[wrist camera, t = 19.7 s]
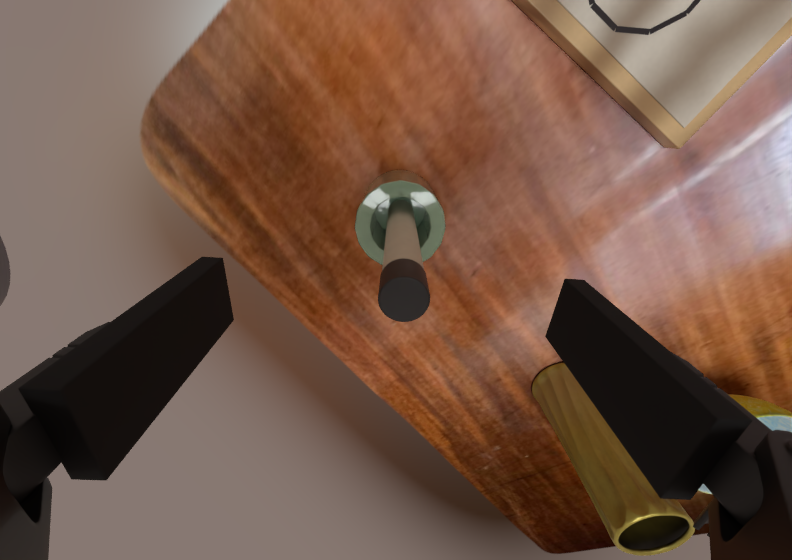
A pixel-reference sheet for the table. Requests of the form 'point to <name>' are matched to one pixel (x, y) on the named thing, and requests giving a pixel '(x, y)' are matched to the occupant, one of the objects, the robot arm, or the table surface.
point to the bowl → (763, 417)
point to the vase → (609, 470)
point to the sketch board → (666, 52)
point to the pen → (402, 267)
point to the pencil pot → (378, 202)
